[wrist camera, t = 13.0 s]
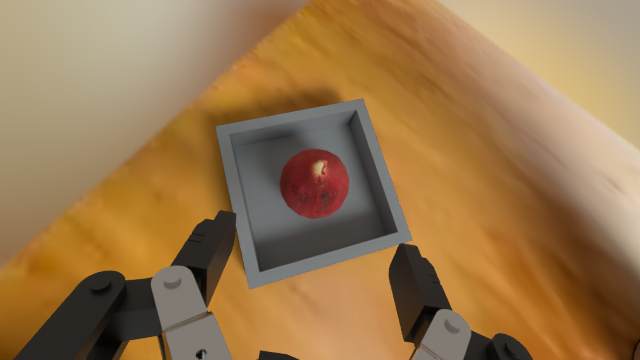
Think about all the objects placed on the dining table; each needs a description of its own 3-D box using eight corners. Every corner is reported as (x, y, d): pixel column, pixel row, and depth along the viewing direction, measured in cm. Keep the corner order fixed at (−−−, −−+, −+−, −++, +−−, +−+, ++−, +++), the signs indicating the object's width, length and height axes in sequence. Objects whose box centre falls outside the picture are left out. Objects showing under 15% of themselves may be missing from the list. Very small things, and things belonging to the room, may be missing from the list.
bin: (353, 118, 32) (363, 98, 28) (395, 243, 29) (412, 240, 25) (223, 144, 29) (215, 126, 25) (253, 285, 26) (249, 289, 22)
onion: (346, 217, 28) (369, 200, 20) (286, 229, 27) (286, 216, 19) (333, 160, 29) (350, 124, 21) (276, 170, 28) (272, 135, 20)
